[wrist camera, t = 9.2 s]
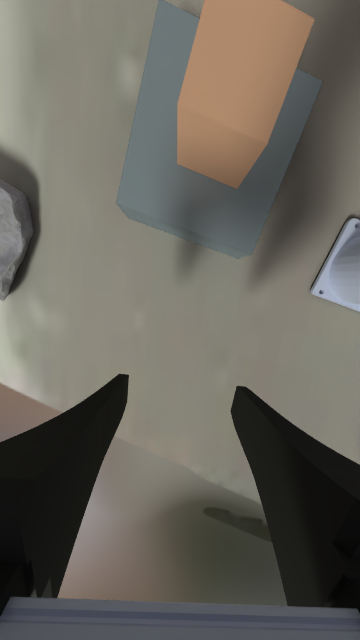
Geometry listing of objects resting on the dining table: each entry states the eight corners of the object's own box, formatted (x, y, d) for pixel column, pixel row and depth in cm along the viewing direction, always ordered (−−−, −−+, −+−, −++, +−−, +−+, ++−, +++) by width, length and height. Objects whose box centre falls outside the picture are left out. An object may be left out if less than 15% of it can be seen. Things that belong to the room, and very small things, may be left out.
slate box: (286, 130, 15) (323, 81, 12) (236, 259, 18) (251, 254, 14) (163, 73, 14) (159, -2, 10) (129, 219, 17) (115, 203, 13)
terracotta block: (264, 113, 12) (314, 19, 8) (237, 189, 13) (267, 144, 9) (200, 82, 12) (214, -38, 7) (177, 164, 13) (177, 103, 8)
